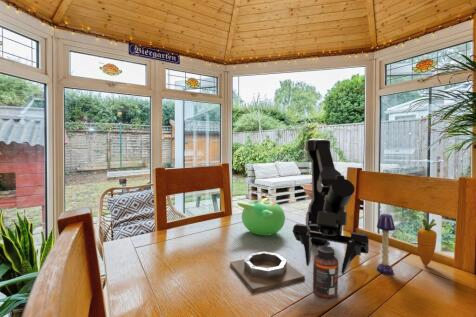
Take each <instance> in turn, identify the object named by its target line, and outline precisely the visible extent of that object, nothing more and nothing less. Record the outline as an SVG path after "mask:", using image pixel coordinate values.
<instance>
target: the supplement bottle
mask: <svg viewBox="0 0 476 317" xmlns="http://www.w3.org/2000/svg"><path fill="white" fill-rule="evenodd" d="M335 255H336V254H335V249H334V248H333V247H330V246H327V245H325V246H324V245H320V246H317V254H315V255H314V256H313V268H312V269H313V270H312V271H313V272H312V290H313V292H314V293H315V295H318V296H319V297H321V298H326V299H331V298H335V297H336V296H337V294H338V291H339V289H338V288H339V261H338V258H337V257H336V256H335Z"/></svg>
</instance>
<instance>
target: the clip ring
mask: <svg viewBox="0 0 476 317" xmlns="http://www.w3.org/2000/svg"><path fill="white" fill-rule="evenodd" d="M244 259H245V260H244V269H245V270H246V271H247V272H248V273H249V274H250V275H251V277H256V278H261V279H266V280H270V279H274V278H278V277H282V276H283V275H284V273H285V271H286V266H287V263H288V262H287V259H286V258H284V257H283V256H281V255H280V254H279V253H275V252H269V251H260V252H253V253H249V254H248V256H247V257H246V258H244ZM261 261H267V262H272V263H276V264H277V265H278V266H277V267H272V268H268V269H267V268H262V267H256V266H254V265H253V263H256V262H261Z"/></svg>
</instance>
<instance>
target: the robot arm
mask: <svg viewBox="0 0 476 317" xmlns="http://www.w3.org/2000/svg"><path fill="white" fill-rule="evenodd" d="M304 146H305V147H304V149H305V150H304V151H306V156H307V158H308V159H309V161H310V162H311V190H312V191H311V192H312V193H311V195H312V196H311V197H312V198H311V199H312V200H311V201H310V204H309V205H308V210H307V212H306V215H305V224H302V223H296V224H294V225H293V227H292V228H293V229H292V233H293V236H294V239H295V240H296V241H298V242H300V244H301V245H303V248H304V256H305V262H306V266H307V267H309V266H310V264H311V258H312V256H311V255H312V249H313V245H314V246H315V247H320V246H324V245H325V246H326V245H329V244H331V242H333V243H339V244H345V245H346V247H345V248H346V249H345V253H344V257H343V262H342V266H341V275H345V273H346V272H347V269H348V267H349V266H350V265H351V263H352V261H353V260H354V259H355V258H356V256H361V255H362V254H369V249H370V239H369V236H368V234H367V233H361V232H360V233H359V232H356V231H355V232H354V231H351V233H350V236H347V235H342V234H343V227H344V226H347V223H348V221H347V220H348V212H346V206H348V204H349V202H350V200H351V199H352V196H353V195H354V192H355V184H353V183H352V182H351V181H350V180H348V179H346V178H345V176H344V175H342V173H341V172H340V171H339V170H337V169H336V168H335V164H334V160H333V156H332V152H331V141H330V140H329V139H326V138H309V139H308V140H307V141H305V145H304ZM325 196H326V197H325Z"/></svg>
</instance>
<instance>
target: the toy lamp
mask: <svg viewBox="0 0 476 317" xmlns="http://www.w3.org/2000/svg"><path fill="white" fill-rule="evenodd" d="M376 228H377V229H378V230H382V236H381V238H382V239H381V244H382V245H381V249H382V250H381V253H382V254H381V259H382V260H381V263H379V264H378V265H377V267H376V271H378V272H379V271H380V272H379V273H381V272H383V273H382V274H384V273H387V274H386V275H391V273H392V274H393V273H394V270H393V269H394V268H393V267H392V266H391V265H389V257H390V256H389V247H390V245H389V243H390V242H389V238H390V237H389V234H390V231H391V232H392V231H395V230H396V226H395V222H394V219H393V216H392V215H391V214H387V213H381V214H380V215H379V218H378V222H377V225H376Z"/></svg>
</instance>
